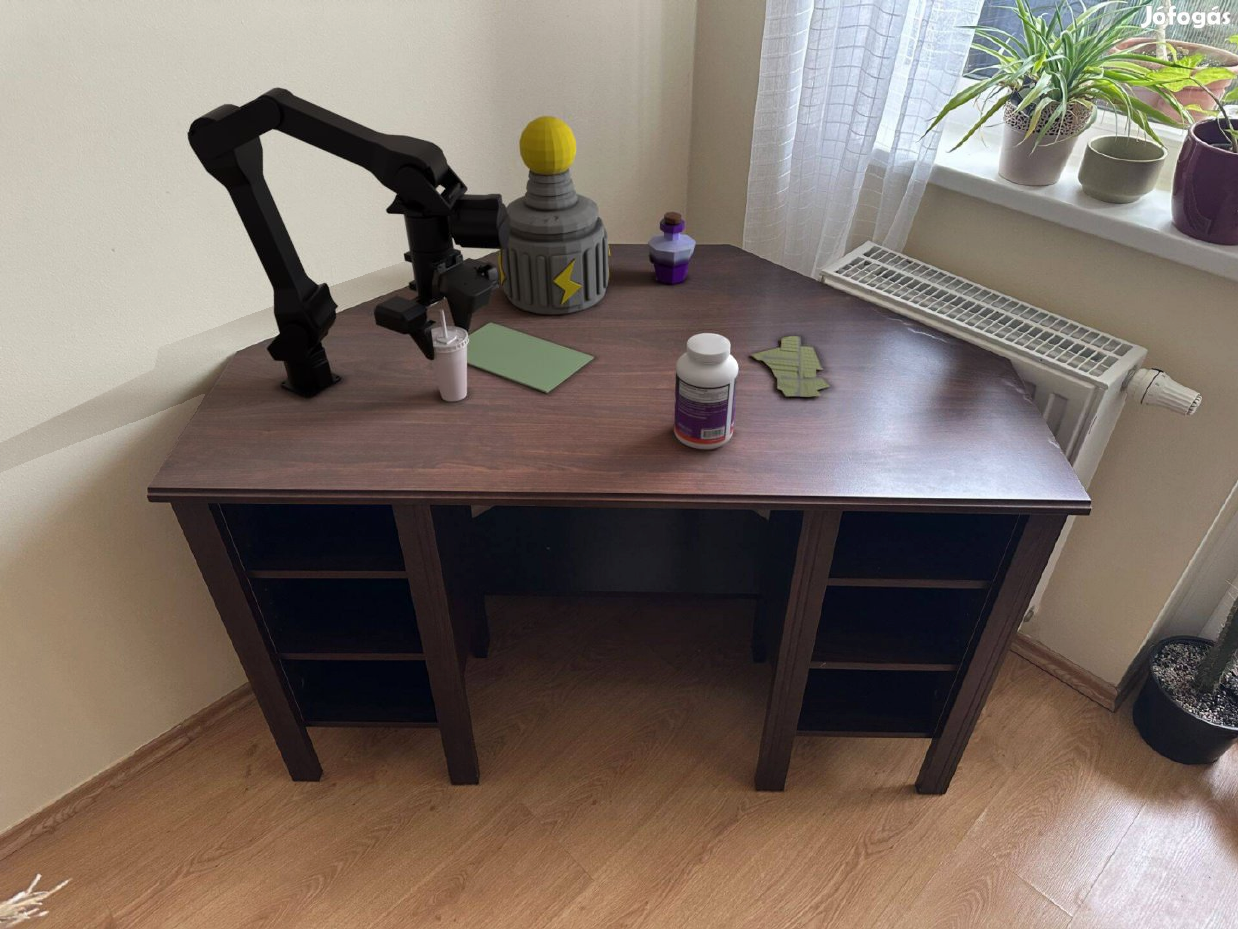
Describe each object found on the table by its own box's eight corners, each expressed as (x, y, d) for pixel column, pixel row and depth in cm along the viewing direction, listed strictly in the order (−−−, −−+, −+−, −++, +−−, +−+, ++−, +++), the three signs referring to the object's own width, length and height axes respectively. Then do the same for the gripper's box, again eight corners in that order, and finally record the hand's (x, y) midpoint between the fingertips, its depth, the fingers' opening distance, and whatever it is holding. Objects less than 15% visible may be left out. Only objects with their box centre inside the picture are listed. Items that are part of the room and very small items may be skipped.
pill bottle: (696, 412, 123) (700, 321, 115) (743, 432, 119) (752, 340, 111) (661, 438, 118) (664, 345, 110) (710, 460, 114) (716, 366, 106)
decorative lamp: (493, 278, 159) (475, 106, 141) (592, 264, 163) (587, 96, 145) (515, 325, 144) (498, 140, 126) (623, 308, 149) (621, 128, 131)
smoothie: (434, 409, 125) (419, 321, 116) (430, 386, 130) (415, 301, 121) (478, 402, 126) (467, 315, 118) (473, 380, 131) (461, 295, 122)
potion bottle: (645, 268, 161) (645, 205, 154) (691, 267, 162) (694, 204, 154) (649, 289, 155) (649, 224, 147) (697, 287, 155) (700, 222, 148)
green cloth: (441, 354, 137) (440, 352, 137) (490, 323, 145) (490, 322, 145) (547, 393, 128) (546, 391, 128) (593, 358, 136) (593, 356, 136)
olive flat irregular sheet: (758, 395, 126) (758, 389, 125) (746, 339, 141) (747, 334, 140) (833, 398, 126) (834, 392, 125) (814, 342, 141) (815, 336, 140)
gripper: (425, 284, 104) (443, 395, 113) (523, 233, 116) (532, 337, 126) (361, 264, 109) (383, 372, 119) (461, 217, 121) (474, 318, 131)
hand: (447, 349), depth 123 cm, fingers closed on smoothie, 6 cm apart
